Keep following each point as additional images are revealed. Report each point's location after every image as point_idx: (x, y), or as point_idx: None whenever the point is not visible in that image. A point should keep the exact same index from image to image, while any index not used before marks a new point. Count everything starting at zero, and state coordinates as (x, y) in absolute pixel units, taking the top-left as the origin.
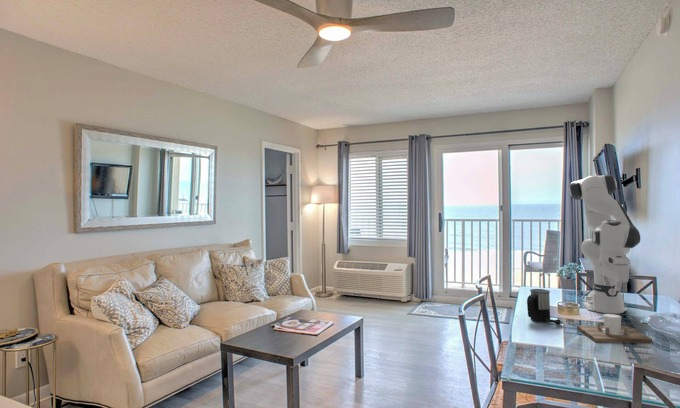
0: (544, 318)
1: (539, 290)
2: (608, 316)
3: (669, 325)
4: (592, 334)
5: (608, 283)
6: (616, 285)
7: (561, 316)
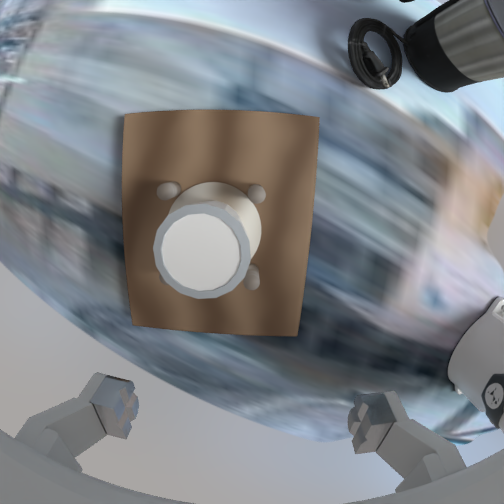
0: (413, 44)
1: None
2: (183, 224)
3: (318, 434)
4: (174, 123)
5: (357, 431)
6: (61, 408)
7: (474, 164)
